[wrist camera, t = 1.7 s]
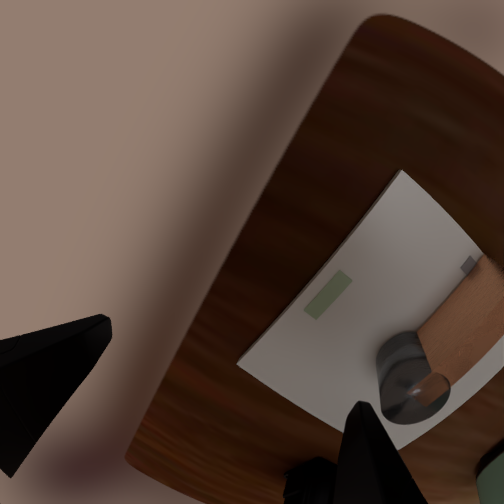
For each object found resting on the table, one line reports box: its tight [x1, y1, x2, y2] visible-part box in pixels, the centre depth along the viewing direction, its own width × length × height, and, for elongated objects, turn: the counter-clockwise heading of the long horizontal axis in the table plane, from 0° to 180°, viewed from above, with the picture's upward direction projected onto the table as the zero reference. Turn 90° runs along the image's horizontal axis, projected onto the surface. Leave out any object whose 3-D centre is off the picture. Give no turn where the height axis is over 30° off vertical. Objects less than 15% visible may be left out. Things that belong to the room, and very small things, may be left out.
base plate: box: [237, 170, 504, 450], centre depth 21 cm, size 20×20×1 cm
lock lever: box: [376, 254, 504, 425], centre depth 16 cm, size 12×5×5 cm, turn 145°
